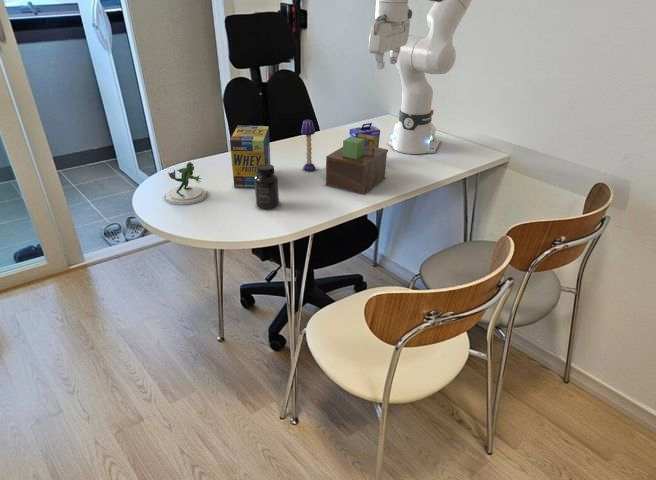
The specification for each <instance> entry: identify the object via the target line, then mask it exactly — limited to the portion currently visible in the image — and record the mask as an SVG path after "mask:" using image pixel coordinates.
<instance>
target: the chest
mask: <svg viewBox="0 0 656 480" xmlns="http://www.w3.org/2000/svg"><path fill="white" fill-rule="evenodd" d="M387 157H388V152H387V153H386V154H384V155H383V156H381V157H380V158H378V159H377V160H375V161H374V162H372V163H371V164H370V165H368V166H367V167H362V166H357V165H352V164H348V163H343V162H339V161H334V160H330V159H326V158H325V186H326V187H329V188H330V187H331V188H335V189H339V190H342V191H346V192H347V191H348V192H351V193H356V194H359V195H360V194H361V195H362V196H363V195H365V194H367V193H368V192H369V191H370V190H372V189H373V188H374V187H376V186H377V185H378V184H380V183H381V182H382V181H383V180H385V178H386V169H387Z"/></svg>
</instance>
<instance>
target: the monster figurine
mask: <svg viewBox="0 0 656 480" xmlns="http://www.w3.org/2000/svg"><path fill="white" fill-rule="evenodd" d="M194 170H195V165H194V163H193V162H190V161H188V162H187V163H186V166H184V167H182V168H179V169H173V171H172V172H167V173H168V177H169V178H170V179H171V180H175V181H176V182H180V183H181V184H180V185H179V187H174V188H172V189H170V190H168V191H167V192H166V193H165V200H166V202H168V203H170V204H172V205H179V206H181V205H182V206H185V205H192V204H196V203H199V202H202V201H203V200H204V199H206V198H207V191H206V190H205V188H203V187H200V186H194V185H189V182H190V181H189V180H195V181H196V183H202V181H201V180H202V178H200V177H201V175H199V174H198V175H197V176H194V175H193V174H194ZM176 171H177V172H179V173H180V174H181V175H180V178H179V177H177V176H176Z"/></svg>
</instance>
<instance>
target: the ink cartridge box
mask: <svg viewBox="0 0 656 480" xmlns="http://www.w3.org/2000/svg"><path fill="white" fill-rule="evenodd" d="M372 124H373V122H368V123H362V125H361V127H360V126H359V127H353V128H349V135H348V138H349V137H356V138H358V134H359V133H361V134H366V135H371V136H376V141H375V147H378V148H380V137H381V129H380V128H378V127H376V126H374V125H372ZM365 145H368V146H372V141H367V140H365Z"/></svg>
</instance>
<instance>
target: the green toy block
mask: <svg viewBox="0 0 656 480" xmlns="http://www.w3.org/2000/svg"><path fill="white" fill-rule="evenodd" d="M364 145H365V139H361V138H356V137H349V136H348V137H347V138H345V139H343V141H342V147H343V156H344V157H349V158H353V159H358V158H359V157H361V156H363V155H364Z"/></svg>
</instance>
